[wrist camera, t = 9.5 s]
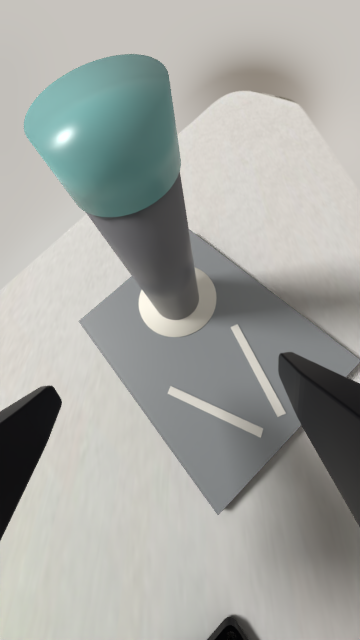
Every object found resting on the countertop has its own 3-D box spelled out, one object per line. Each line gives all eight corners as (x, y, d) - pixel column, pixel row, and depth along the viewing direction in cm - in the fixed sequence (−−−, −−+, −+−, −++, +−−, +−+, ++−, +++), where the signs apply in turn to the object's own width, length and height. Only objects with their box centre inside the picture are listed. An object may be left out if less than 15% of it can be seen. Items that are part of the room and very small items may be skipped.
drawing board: (353, 362, 15) (362, 360, 14) (217, 508, 13) (217, 516, 12) (189, 234, 21) (188, 227, 20) (83, 323, 19) (77, 320, 18)
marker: (205, 314, 17) (183, 115, 4) (157, 326, 17) (17, 170, 5) (194, 272, 18) (155, 38, 6) (150, 284, 18) (28, 85, 6)
